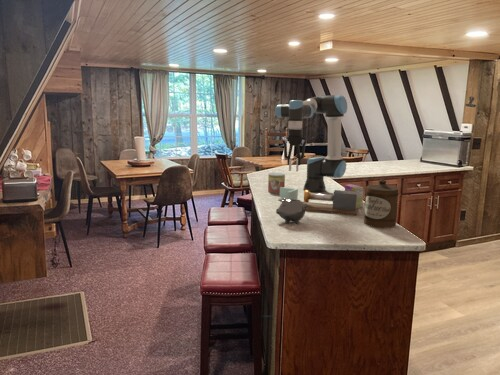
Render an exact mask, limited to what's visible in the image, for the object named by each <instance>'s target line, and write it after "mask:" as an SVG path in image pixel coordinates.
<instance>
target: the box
mask: <svg viewBox="0 0 500 375" xmlns="http://www.w3.org/2000/svg"><path fill="white" fill-rule="evenodd" d="M344 191H355V192H357V200H356V206H358V208H363V206H364V205H363V204H364V186H360V185H356V184H345V185H344Z"/></svg>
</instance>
